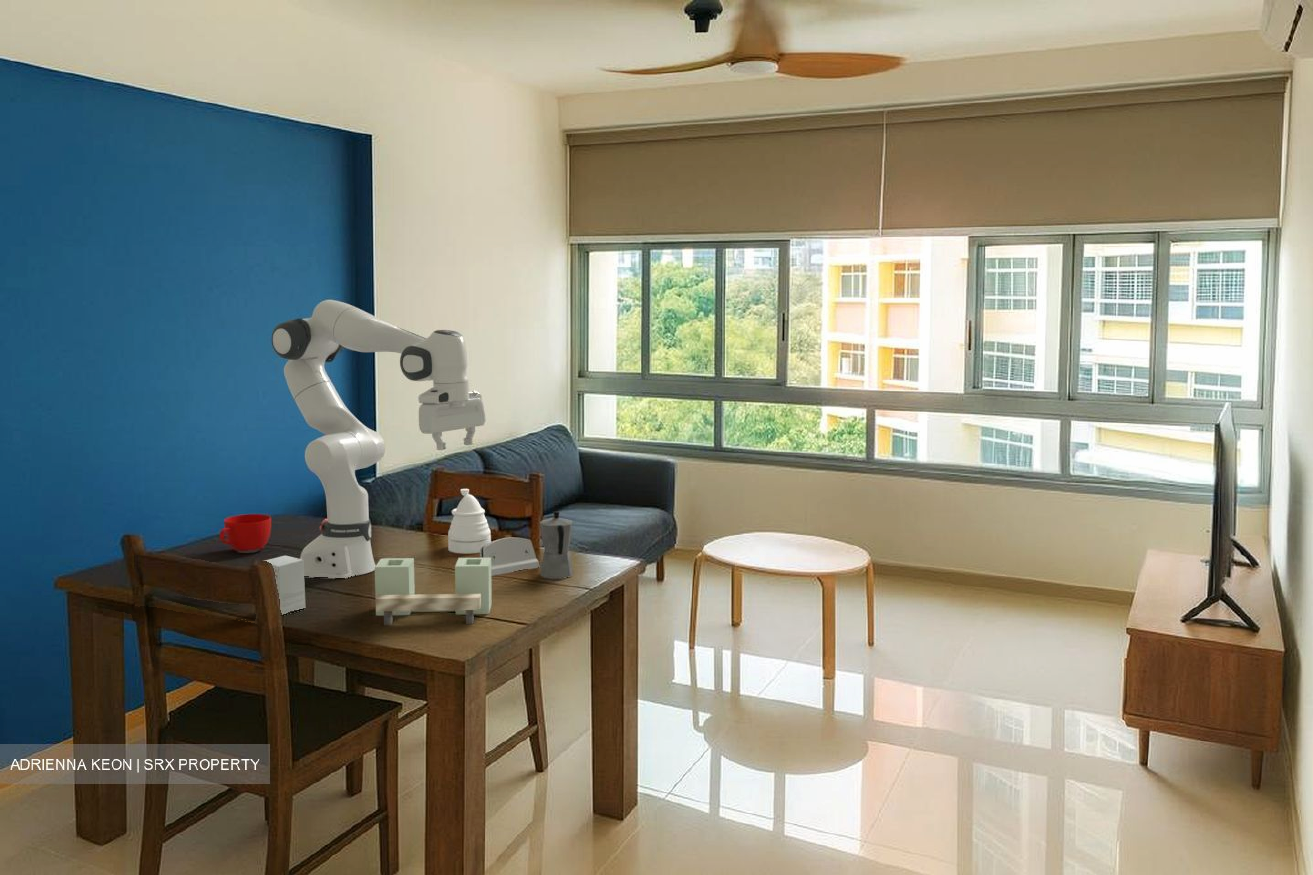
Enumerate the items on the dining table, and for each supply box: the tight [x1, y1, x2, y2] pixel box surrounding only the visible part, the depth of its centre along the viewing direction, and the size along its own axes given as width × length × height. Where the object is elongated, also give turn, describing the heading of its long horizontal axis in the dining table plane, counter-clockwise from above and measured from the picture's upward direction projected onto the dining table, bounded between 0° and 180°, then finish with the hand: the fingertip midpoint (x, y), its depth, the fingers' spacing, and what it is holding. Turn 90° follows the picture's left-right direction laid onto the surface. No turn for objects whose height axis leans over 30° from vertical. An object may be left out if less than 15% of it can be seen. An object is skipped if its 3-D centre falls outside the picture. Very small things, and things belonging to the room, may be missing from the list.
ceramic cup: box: [219, 513, 272, 551], centre depth 299 cm, size 13×17×10 cm
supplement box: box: [264, 555, 307, 615], centre depth 246 cm, size 7×7×13 cm
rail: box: [375, 593, 481, 626], centre depth 239 cm, size 24×3×6 cm, turn 95°
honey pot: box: [447, 488, 492, 555], centre depth 308 cm, size 13×13×18 cm
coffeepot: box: [539, 510, 574, 580], centre depth 279 cm, size 15×9×18 cm, turn 15°
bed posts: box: [374, 557, 493, 616], centre depth 248 cm, size 27×8×12 cm, turn 95°
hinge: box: [479, 536, 541, 577], centre depth 286 cm, size 17×5×10 cm, turn 127°
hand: (455, 447), depth 260 cm, fingers open, 8 cm apart
